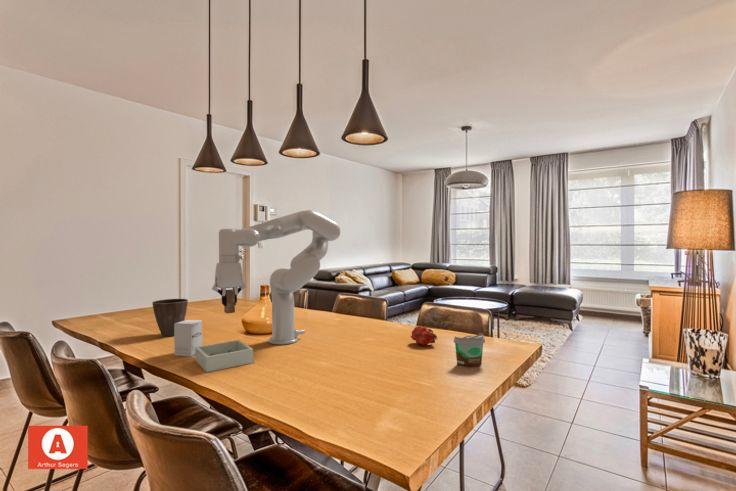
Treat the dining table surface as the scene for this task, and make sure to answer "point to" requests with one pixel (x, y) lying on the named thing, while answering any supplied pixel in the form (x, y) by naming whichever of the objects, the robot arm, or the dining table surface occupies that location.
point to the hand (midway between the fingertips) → (229, 304)
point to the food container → (469, 350)
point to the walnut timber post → (230, 302)
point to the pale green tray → (223, 355)
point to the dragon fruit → (423, 335)
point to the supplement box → (187, 337)
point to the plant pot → (169, 314)
